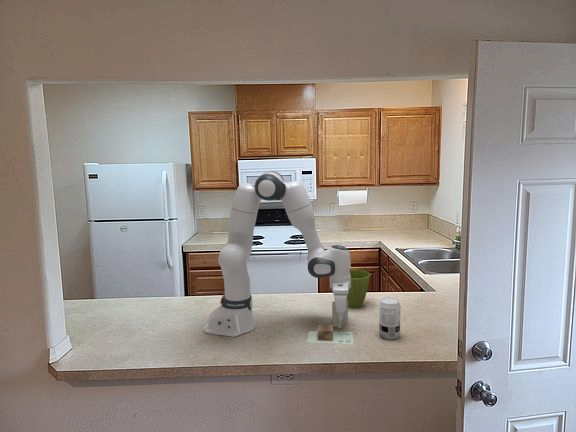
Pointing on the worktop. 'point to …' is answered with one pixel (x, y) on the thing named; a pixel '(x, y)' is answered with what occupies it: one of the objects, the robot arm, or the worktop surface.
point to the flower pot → (358, 288)
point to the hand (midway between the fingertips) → (340, 314)
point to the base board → (337, 337)
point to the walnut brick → (325, 332)
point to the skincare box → (335, 316)
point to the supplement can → (389, 318)
